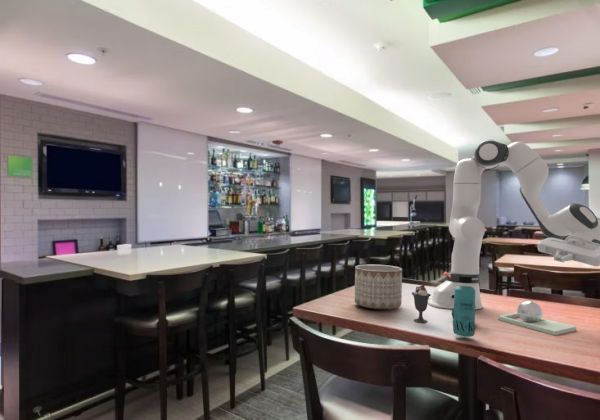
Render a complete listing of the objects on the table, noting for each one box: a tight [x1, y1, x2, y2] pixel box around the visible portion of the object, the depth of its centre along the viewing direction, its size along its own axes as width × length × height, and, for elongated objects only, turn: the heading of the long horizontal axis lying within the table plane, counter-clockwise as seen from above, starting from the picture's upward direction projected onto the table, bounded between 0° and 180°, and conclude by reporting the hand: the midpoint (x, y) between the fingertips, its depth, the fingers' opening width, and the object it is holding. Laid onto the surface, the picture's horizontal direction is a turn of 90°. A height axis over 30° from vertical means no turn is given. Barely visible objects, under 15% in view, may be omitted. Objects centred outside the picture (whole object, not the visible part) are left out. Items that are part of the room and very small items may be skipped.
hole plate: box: [497, 312, 577, 336], centre depth 134 cm, size 20×13×1 cm, turn 28°
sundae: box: [411, 280, 432, 324], centre depth 136 cm, size 7×7×15 cm
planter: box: [354, 264, 403, 311], centre depth 156 cm, size 19×19×16 cm
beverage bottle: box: [452, 275, 476, 338], centre depth 118 cm, size 6×7×20 cm
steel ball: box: [516, 300, 544, 323], centre depth 137 cm, size 8×8×8 cm
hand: (558, 259), depth 132 cm, fingers closed
